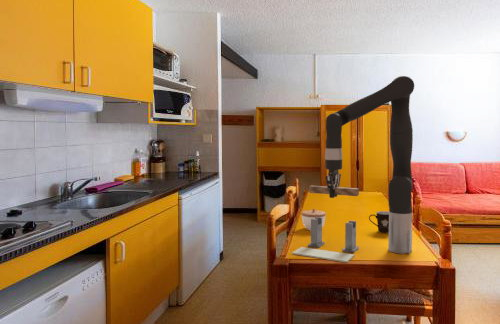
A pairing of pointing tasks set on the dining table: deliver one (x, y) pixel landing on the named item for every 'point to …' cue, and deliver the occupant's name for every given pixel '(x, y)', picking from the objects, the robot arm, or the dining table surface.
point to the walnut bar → (337, 190)
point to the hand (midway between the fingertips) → (333, 196)
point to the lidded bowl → (312, 217)
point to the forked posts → (349, 235)
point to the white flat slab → (323, 254)
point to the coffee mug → (382, 221)
